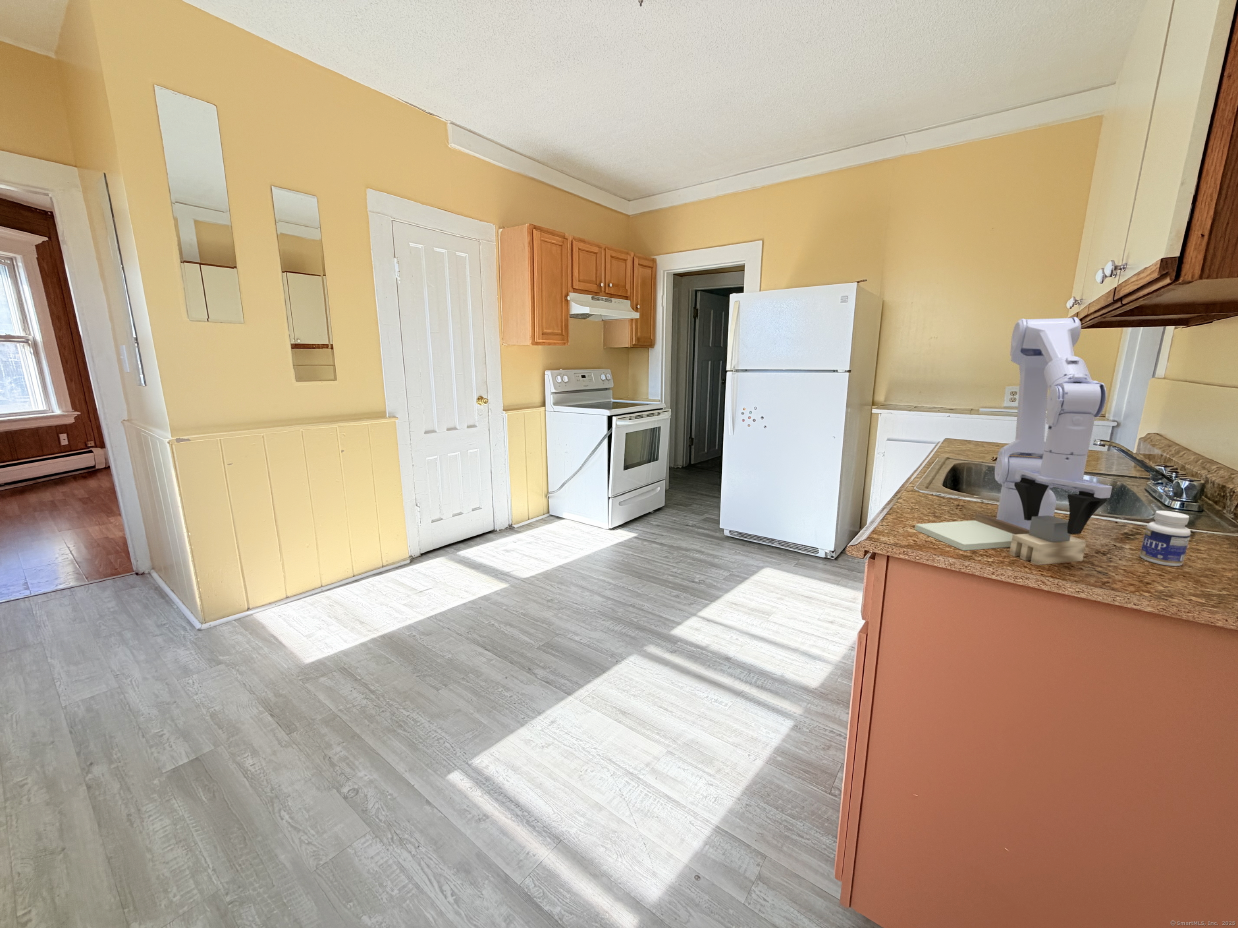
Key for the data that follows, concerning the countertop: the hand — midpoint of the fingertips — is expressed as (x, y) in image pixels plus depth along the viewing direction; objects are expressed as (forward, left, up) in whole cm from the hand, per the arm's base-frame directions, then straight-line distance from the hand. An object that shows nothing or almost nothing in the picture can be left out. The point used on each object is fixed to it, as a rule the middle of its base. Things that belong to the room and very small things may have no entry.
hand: (1051, 526), depth 88 cm
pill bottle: (-19, +5, -6) cm, 21 cm away
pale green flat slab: (+4, -12, -6) cm, 14 cm away
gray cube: (0, 0, -2) cm, 2 cm away
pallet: (0, 0, -6) cm, 6 cm away
